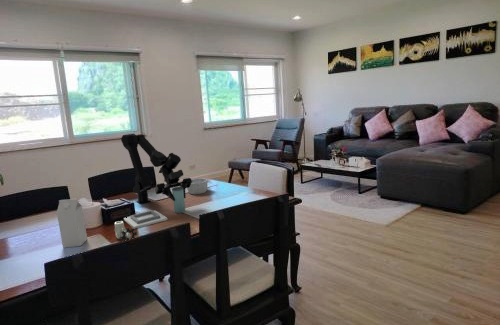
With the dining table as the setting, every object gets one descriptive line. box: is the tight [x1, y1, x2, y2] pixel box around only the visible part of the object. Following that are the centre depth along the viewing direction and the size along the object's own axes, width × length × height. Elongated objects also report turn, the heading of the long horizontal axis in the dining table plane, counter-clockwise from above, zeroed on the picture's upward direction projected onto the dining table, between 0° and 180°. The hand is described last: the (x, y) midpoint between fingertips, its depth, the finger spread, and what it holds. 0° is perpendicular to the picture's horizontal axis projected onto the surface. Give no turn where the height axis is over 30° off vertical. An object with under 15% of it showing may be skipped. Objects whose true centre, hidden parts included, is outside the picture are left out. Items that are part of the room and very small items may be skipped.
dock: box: [123, 210, 168, 230], centre depth 168 cm, size 16×16×2 cm
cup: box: [171, 186, 186, 214], centre depth 177 cm, size 6×6×12 cm
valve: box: [114, 220, 138, 241], centre depth 146 cm, size 7×7×12 cm
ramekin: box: [186, 178, 208, 195], centre depth 213 cm, size 13×13×7 cm
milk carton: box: [56, 198, 88, 249], centre depth 143 cm, size 7×7×19 cm
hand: (179, 199), depth 176 cm, fingers closed on cup, 5 cm apart
